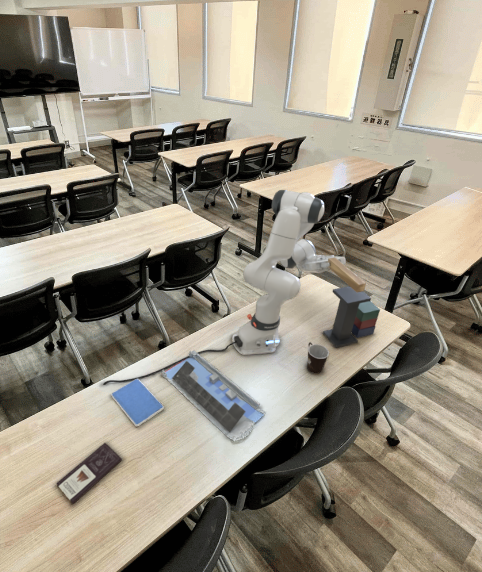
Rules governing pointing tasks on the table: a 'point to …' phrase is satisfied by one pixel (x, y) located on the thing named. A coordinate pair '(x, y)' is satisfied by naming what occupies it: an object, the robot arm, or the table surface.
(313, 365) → the coffee mug
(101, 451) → the chocolate bar
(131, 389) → the tablet
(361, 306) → the book stack
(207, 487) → the table surface
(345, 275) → the wooden bar
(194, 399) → the blue parts tray
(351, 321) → the stand
